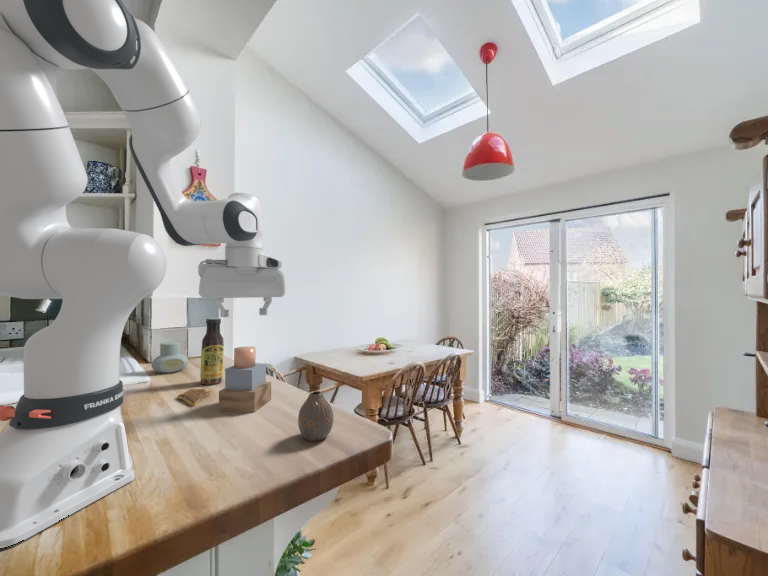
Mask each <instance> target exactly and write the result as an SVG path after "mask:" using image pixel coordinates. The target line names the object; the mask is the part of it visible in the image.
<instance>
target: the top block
mask: <svg viewBox="0 0 768 576" xmlns="http://www.w3.org/2000/svg"><path fill="white" fill-rule="evenodd" d="M224 375H225V377H224V379H225V380H224V388H225V389H227V390H247V391H252V390H254V389H256V388H258V387H259V386H261V385H263V384H264V383H266V382H267V363H265V362H264V363H262V362H261V363H260V362H255V367H252V368H245V369H238V368H234V365H232V366H229V367H226V368H225V369H224Z"/></svg>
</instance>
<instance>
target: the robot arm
mask: <svg viewBox="0 0 768 576" xmlns="http://www.w3.org/2000/svg"><path fill="white" fill-rule="evenodd" d="M61 69H62V70H84V69H85V70H86V69H89V70H91V71H93V72H94V73H95V74H96V75H97V76H99V78H100V79H101V80H102V81H103V82H104V83H105V84H106V85H107V87H108V88H109V90H110V91H111V94H112V95H113V97H114V99H115V101H116V102H117V103H118V105H119V107H120V108H121V110H122V112H123V113H124V115H125V117H126V120H127V121H128V124H129V127H130V130H131V134H130V136H129V138H128V145H129V150H130V153H131V155H132V158H133V160H134V163H135V165H136V167H137V169H138V171H139V173H140V175H141V177H142V179H143V181H144V183H145V185H146V188H147V190H148V191H149V194H150V196H151V197H152V199H153V201H154V203H155V205H156V207H157V209H158V211H159V213H160V216H161V221H162V224H163V227H164V230H165V232H166V233H167V235H168V236H169V238H170V239H171V240H173V241H174V242H175V243H176V244H178V245H180V246H183V247H192V246H199V245H210V244H211V245H213V244H216V245H217V244H218V245H219V244H225V247H224V249H225V252H224V254H225V257H224V259H211V258H210V259H209V258H206V259H205V260H203V261H201V262H200V263H199V264H198V267H197V269H198V270H197V271H198V276H199V277H200V278H199V285H198V295H199V296H200V297H201V298H202V299H214V301H215V302H214V304H216V306H217V307H218V309H219V311H220V312H219V313H220V316H219V317H220V318H229V315H230V314H229V313H230V312H229V309H226V308H225V307H224V305H223V304H224V303H225V302H224V301H225V298H226V299H238V298H239V299H240V298H243V299H246V298H247V299H248V298H251V299H252V298H263V300H262V301H263V302H264V304H263V306H262V308H261V307H260V308H259V309H258V310H259V311H258V313H259V316H267V315H268V309H269V307H270V306H271V304H272V301H273V300H272V299H273V298H283V297H284V295H285V294H286V281H285V279H286V278H285V275H284V272H283V271H282V270H281V269H282V267H283V263H282V260H280V259H277V258H275V257H272V256H269V255H267V254H266V253H264V247H263V243H262V238H263V235H264V218H263V212H262V211H263V210H262V206H261V205H262V204H261V202H260V200H259V199H258V198H257V197H256V196H254V195H251V194H248V193H244V192H234V193H231V194H229V195H228V197H227V198H224V199H214V200H191V199H189V198H187V197H185V195H184V193H183V192H182V189H181V187H180V185H179V183H178V180H177V177H176V176H175V173H174V171H173V168H172V164H171V161H172V160H171V159H173V158H174V157H176V156H178V155H180V154H181V153H182V152H184V151H185V150H186V149H188V148H190V146H192V145H193V143H194V142H195V141H196V140H197V138H198V136H199V134H200V130H201V123H202V122H201V117H200V112H199V110H198V107H197V104H196V103H195V100H194V98H193V96H192V94H191V92H190V90H189V88H188V85H187V84H186V81H185V79H184V78H183V76H182V74H181V72H180V71H179V69H178V67H177V65H176V63H175V62H174V60H173V58H172V57H171V55H170V54H169V52H168V50H167V48H166V47H165V45H164V44H163V43H162V41H161V39H160V38H159V37H158V35H157V34H156V32H155V31H154V30H153V29H152V28H151V27H150V26H149V25H148V24H147V23H145V22H144V21H142V20H141V19H139V18H136V17H133V15H132V14H131V13H130V12H129V10H128V8H127V6H125V4H124V2H123V1H122V0H0V296H6V297H11V298H17V299H22V300H23V299H24V300H48V299H49V300H51V299H52V300H59V299H60V300H62V302H61V306H60V310H59V312H58V314H57V316H56V318H55V319H54V320H53V322H51V324H50V325H48V326H45V327H44V328H41V329H39V330H38V331H37V332H35V333H33V334H32V335H31V336H30V337H28V339H27V340H26V342H25V344H24V347H23V348H22V349H23V394H22V395H21V396H19V397H20V398H19V399H18V401H17V403H16V406H13V405H0V421H1V422H6V421H9V423H8V426H9V427H8V428H6V429H5V431H3V433H1V434H0V546H1V547H2V546H10V545H13V544H15V543H18V542H19V541H22V540H24V541H26V540H28V539H30V538H31V537H33V536H34V535H36V534H38V533H40V532H42V531H43V530H45V529H47V528H49V527H51V526H53V525H54V524H56V523H58V522H60V521H61V519H62V520H63V518H64V519H66V518H67V517H69V516H71V515H72V514H74V513H76V512H78V511H80V510H82V509H84V508H85V507H87V506H89V505H91V504H92V503H94V502H97V501H98V500H99V499H101V498H102V497H105V496H107V495H109V494H110V493H112V492H114V491H116V490H118V489H119V488H121V487H123V486H125V485H126V484H129V483H130V482H132V481H134V480H135V471H134V469H133V464H134V462H133V459H132V456H131V454H130V451H129V447H128V441H127V433H126V428H125V424H124V419H123V415H122V410H121V409H122V407H121V405H122V404H124V394H125V392H124V387H123V386H124V384H123V383H124V382H123V381H122V380H121V378H120V364H121V363H120V362H121V361H120V360H121V344H122V336H123V332H124V329H125V326H126V323H127V321H128V320H129V317H130V315H131V314H132V312H133V311H134V310H135V308H136V307H137V306H138V304H140V303H141V302H142V300H144V298H146V297H147V296H148V295H150V294H151V293H153V292H154V291H156V289H158V287H159V286H160V285H161V284H162V282H163V281H164V278H165V276H166V272H167V259H166V254H165V253H164V250H163V249H162V247H161V245H160V244H159V243H158V242H157V241H156V239H155V238H153V237H152V236H151V235H148V234H145V233H141V232H136V231H132V230H127V229H126V230H125V229H120V228H114V227H113V228H111V227H110V228H108V227H107V228H106V227H105V228H104V227H103V228H102V227H101V228H99V227H98V228H97V227H95V228H94V227H93V228H92V227H91V228H90V227H88V228H87V227H72V226H71V224H70V223H69V221H68V217H67V209H66V208H67V205H68V204H70V203H71V202H73V201H75V200H76V199H77V198H80V196H81V195H82V194H83V193H84V192H85V190H86V188H87V186H88V182H89V181H88V180H89V179H88V174H87V172H86V169H85V166H84V163H83V161H82V158H81V154H80V152H79V150H78V147H77V145H76V142H75V139H74V136H73V133H72V131H71V128H70V126H69V123H68V120H67V118H66V116H65V112H64V110H63V108H62V106H61V103H60V102H59V99H58V98H59V96H58V93H57V92H58V89H57V77H58V73H59V71H60V70H61ZM68 515H69V516H68ZM59 520H60V521H59ZM22 542H23V541H22ZM18 544H19V543H18ZM13 546H14V545H13ZM10 547H11V546H10Z"/></svg>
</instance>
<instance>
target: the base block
mask: <svg viewBox="0 0 768 576" xmlns="http://www.w3.org/2000/svg"><path fill="white" fill-rule="evenodd" d="M271 400H272V381H266V383H264V384H263V385H261V386H259V387H258V388H256V389H254V390H252V391H247V390H227V389H225V387H224V388H223V389H221V390H219V391H218V412H232V413H233V412H234V413H235V412H237V413H238V412H240V413H256V412H257V411H259V410H260V409H262V408H263V407H264V406H265V405H266V404H268V403H269V402H270V401H271Z"/></svg>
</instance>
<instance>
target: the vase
mask: <svg viewBox="0 0 768 576" xmlns="http://www.w3.org/2000/svg"><path fill="white" fill-rule="evenodd" d="M297 423H298V424H297V426H298V429H299V433H300V434H301V436H302V437H303V438H305V439H306V440H307V441H309V440H310V441H311V442H318V440H319V441H322V440H324V439H325V438H326V437H328V435H329V434H330V433H331V431H332V429H333V426H334V412H333V408H332V406H331V404H330V403H329V401H328V400H327V399H326V398H325V397H324V395H323V392H322V391H318V390H317V391H311V392H309V394H308V397H307V398H306V400H305V401H304V402H303V404H302V405H301V407H300V409H299V411H298V416H297Z"/></svg>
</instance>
